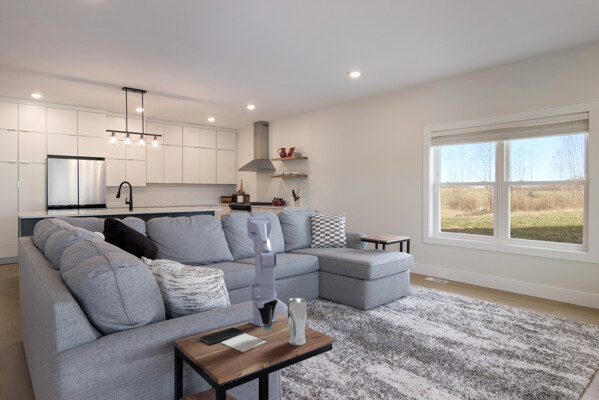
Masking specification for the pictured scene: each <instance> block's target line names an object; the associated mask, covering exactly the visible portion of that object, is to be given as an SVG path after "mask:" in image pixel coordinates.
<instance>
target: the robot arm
mask: <svg viewBox="0 0 599 400" xmlns="http://www.w3.org/2000/svg"><path fill="white" fill-rule="evenodd" d="M246 219H247V220H246V228H247V229H246V230H247V237H248V238H250V239H251V240H252V244H253V259H254V261H253V262H254V277H253V278H252V279H251V280H250V281H249V284H248V299H249V300H250V301H251V302H252V319H251V320H248V321H247V322H248V324H252V325H255V326H258V327H263V324H268V323H269V319H270V312H271V309H272V323H274V322H277V321H278V319H276V318H277V316H276V315H277V314H276V313H277V311H276V309H277V308H276V306H277V305H278V302H279V300H278V299H276V298H277V295H278V293H277V291H276V268H277V263H278V261H277V254H276V251H275V250H274V249H273V245H272V241H271V240H270V239H268V237H269V236H270V234H271V229H272V220H271V217H270V216H251V217H250V216H248V217H247V218H246Z"/></svg>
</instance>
